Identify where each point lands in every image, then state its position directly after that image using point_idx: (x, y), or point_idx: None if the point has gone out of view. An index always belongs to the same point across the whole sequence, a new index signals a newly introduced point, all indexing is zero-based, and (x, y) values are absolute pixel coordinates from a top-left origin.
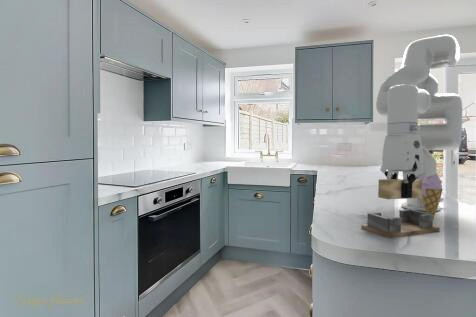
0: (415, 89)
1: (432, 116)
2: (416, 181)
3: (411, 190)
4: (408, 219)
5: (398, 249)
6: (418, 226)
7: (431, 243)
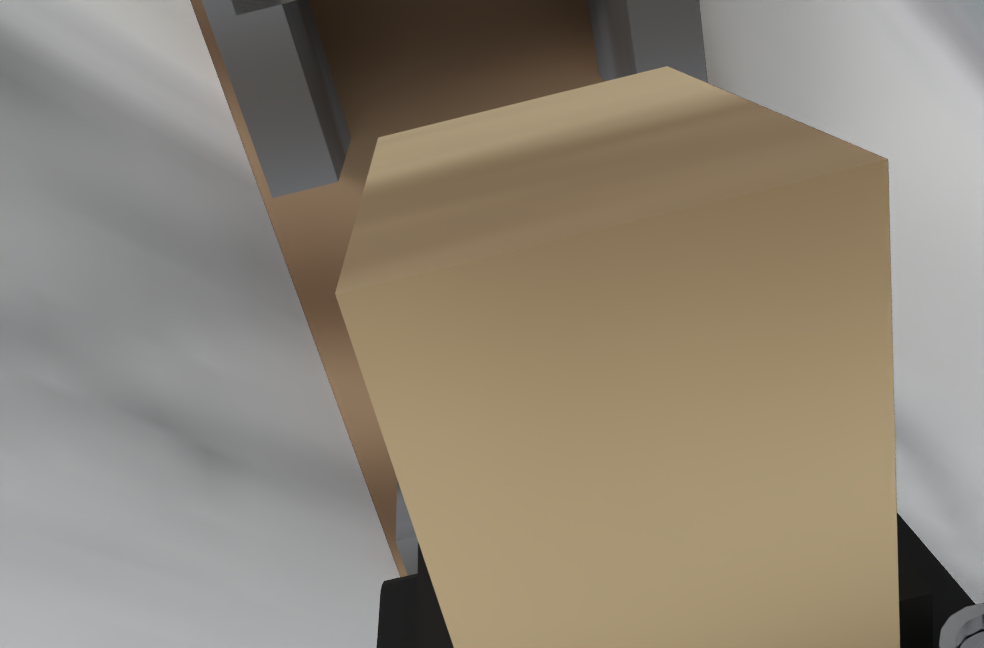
0: None
1: None
2: (865, 410)
3: (898, 528)
4: (312, 29)
5: (978, 560)
6: (559, 52)
7: (971, 246)
